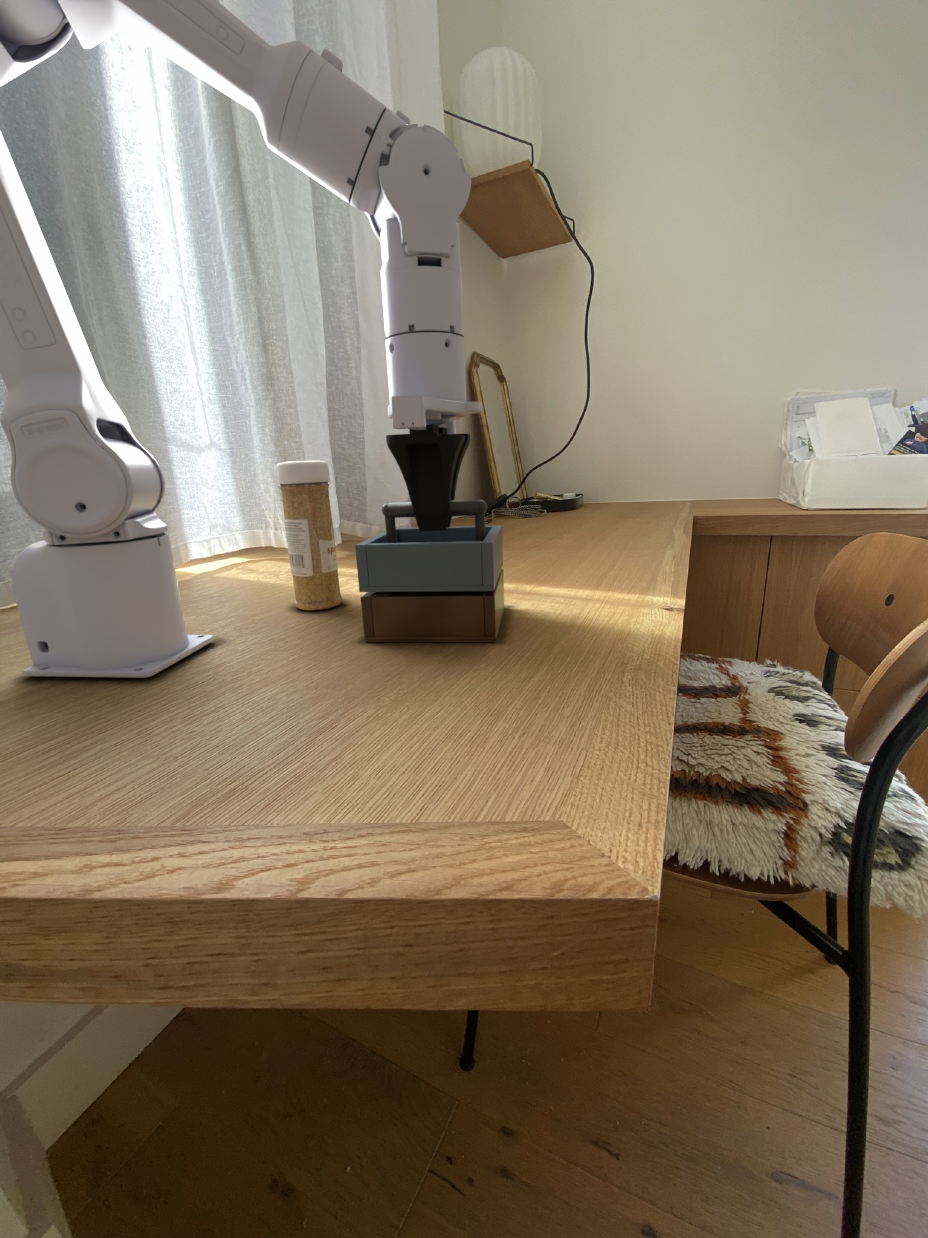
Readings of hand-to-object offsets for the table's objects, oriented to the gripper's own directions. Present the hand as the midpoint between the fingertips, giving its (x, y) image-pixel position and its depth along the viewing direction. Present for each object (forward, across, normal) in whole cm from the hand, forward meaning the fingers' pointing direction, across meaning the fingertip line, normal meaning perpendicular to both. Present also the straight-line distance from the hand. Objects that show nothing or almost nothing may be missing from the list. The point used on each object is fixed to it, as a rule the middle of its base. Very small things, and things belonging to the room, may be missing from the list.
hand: (434, 529), depth 44 cm
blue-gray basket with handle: (+4, 0, 0) cm, 4 cm away
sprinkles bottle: (+8, +6, +13) cm, 16 cm away
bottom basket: (+8, 0, 0) cm, 8 cm away
